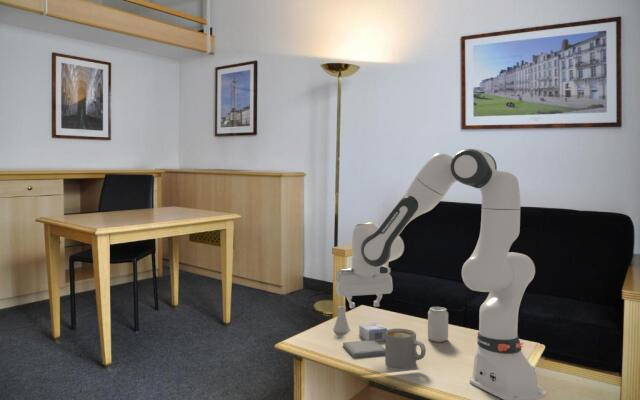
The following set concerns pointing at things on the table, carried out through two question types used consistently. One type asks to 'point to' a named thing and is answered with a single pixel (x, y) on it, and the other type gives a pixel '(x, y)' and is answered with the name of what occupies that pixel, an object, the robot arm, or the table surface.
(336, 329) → the flask
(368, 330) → the medicine box
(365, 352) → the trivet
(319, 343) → the table surface
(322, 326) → the table surface
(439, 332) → the can
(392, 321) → the table surface
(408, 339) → the coffee mug
